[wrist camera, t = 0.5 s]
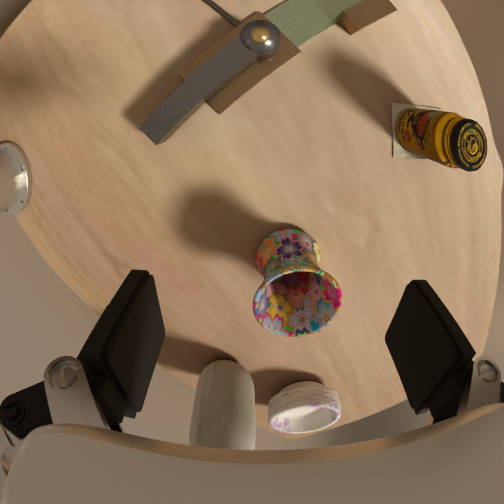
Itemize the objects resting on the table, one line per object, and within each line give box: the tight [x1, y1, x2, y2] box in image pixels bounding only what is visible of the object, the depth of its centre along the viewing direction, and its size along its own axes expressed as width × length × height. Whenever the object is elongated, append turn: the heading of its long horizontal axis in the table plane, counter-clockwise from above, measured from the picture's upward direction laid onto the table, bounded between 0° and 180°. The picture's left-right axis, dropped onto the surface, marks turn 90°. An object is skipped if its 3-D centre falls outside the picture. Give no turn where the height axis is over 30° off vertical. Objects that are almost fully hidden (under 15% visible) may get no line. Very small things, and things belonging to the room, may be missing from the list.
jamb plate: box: [179, 0, 301, 114], centre depth 22 cm, size 20×12×1 cm, turn 41°
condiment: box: [391, 103, 487, 171], centre depth 22 cm, size 7×8×12 cm
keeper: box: [264, 0, 397, 47], centre depth 19 cm, size 8×14×3 cm, turn 131°
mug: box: [253, 229, 342, 337], centre depth 32 cm, size 12×9×11 cm
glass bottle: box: [189, 360, 256, 450], centre depth 36 cm, size 10×10×28 cm
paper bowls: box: [268, 381, 341, 433], centre depth 50 cm, size 15×15×8 cm
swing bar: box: [139, 20, 281, 145], centre depth 23 cm, size 18×4×4 cm, turn 131°
